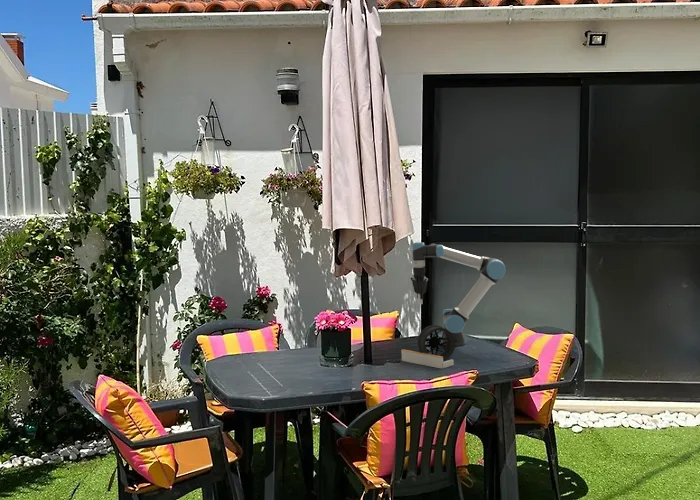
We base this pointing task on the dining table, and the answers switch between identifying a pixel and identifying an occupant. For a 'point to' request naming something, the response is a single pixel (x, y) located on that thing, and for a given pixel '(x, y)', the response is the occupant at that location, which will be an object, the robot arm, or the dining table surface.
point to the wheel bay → (425, 359)
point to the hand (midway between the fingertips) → (420, 304)
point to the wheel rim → (436, 341)
